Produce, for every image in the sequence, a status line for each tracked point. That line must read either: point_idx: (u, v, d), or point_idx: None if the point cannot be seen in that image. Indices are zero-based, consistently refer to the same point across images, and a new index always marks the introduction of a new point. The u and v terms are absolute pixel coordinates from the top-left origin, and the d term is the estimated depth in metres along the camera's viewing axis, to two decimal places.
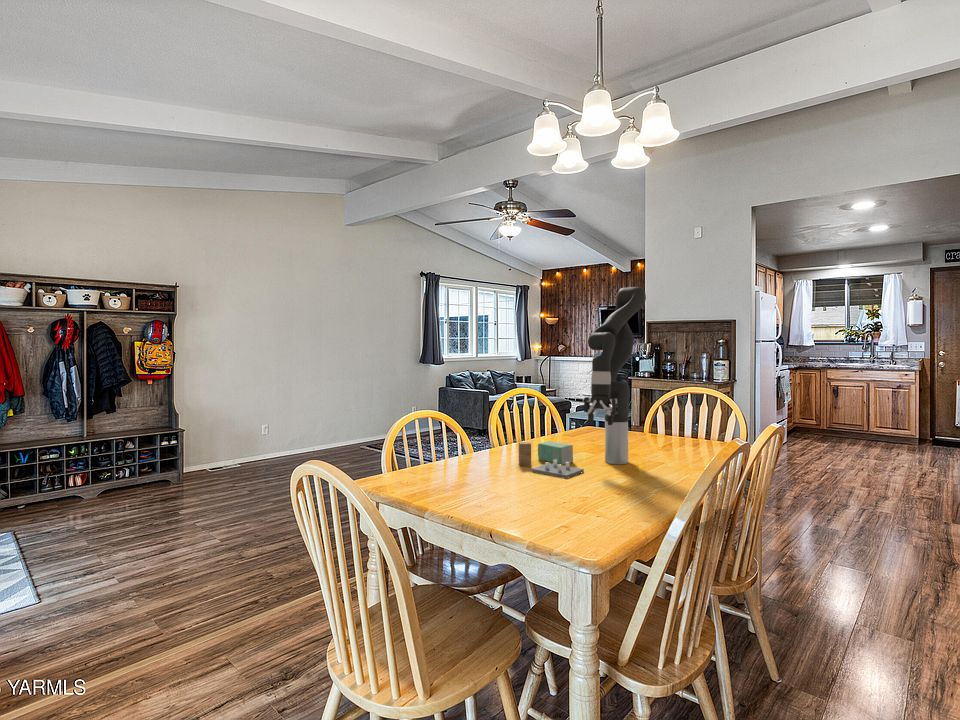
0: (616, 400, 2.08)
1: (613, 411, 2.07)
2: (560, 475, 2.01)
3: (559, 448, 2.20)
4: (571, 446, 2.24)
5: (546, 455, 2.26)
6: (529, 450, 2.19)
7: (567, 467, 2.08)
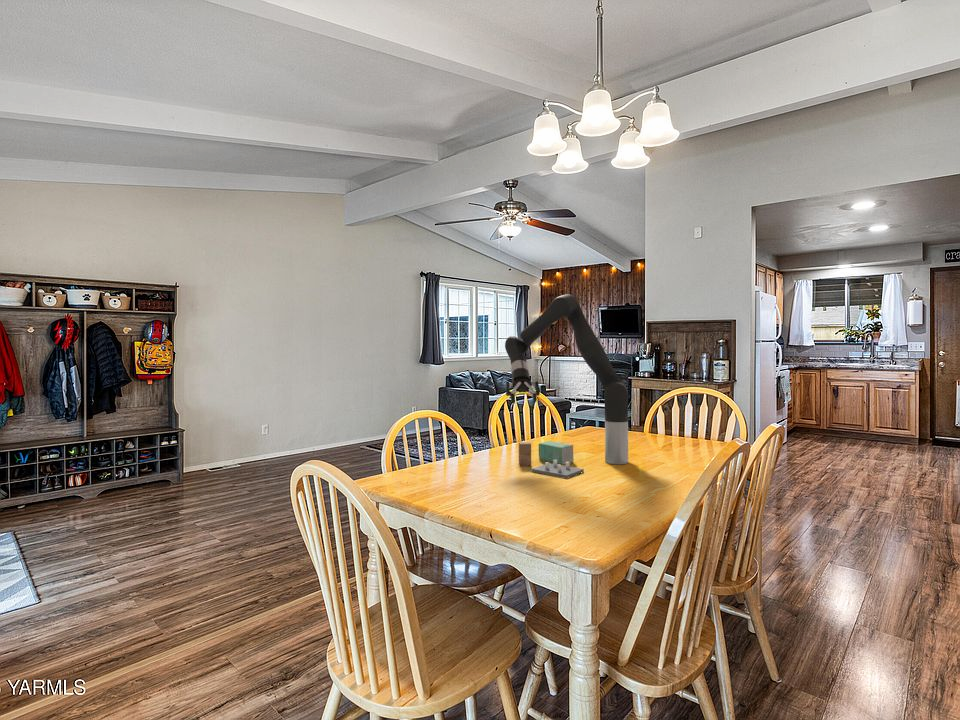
0: (506, 384, 2.31)
1: None
2: (560, 475, 2.01)
3: (559, 448, 2.21)
4: (571, 446, 2.24)
5: (547, 455, 2.26)
6: (529, 450, 2.19)
7: (567, 467, 2.08)
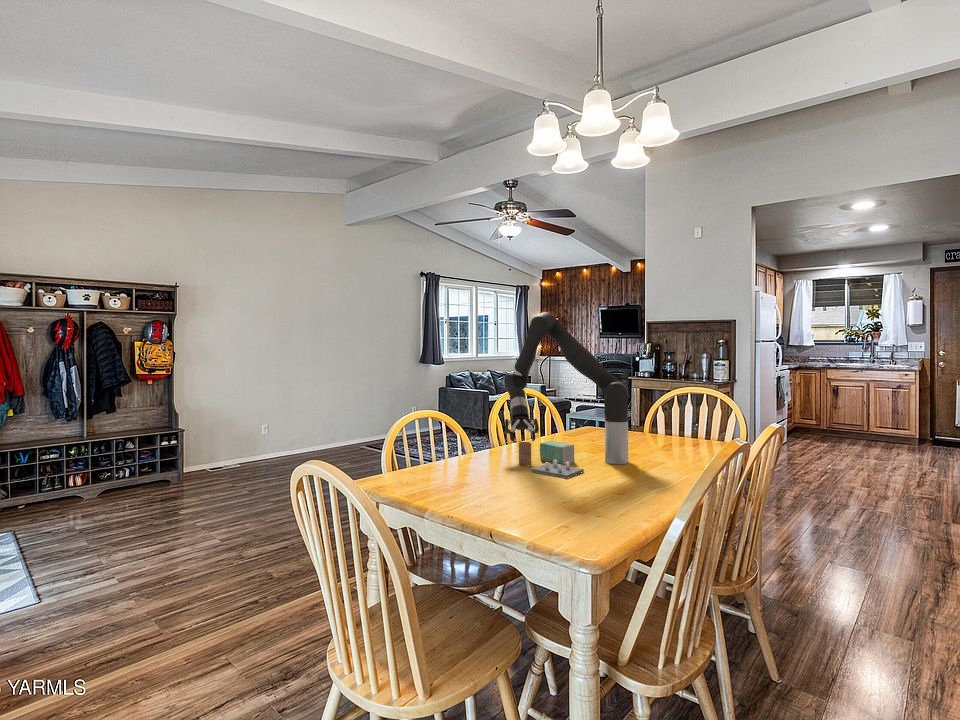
0: (505, 421, 2.31)
1: None
2: (560, 475, 2.01)
3: (560, 448, 2.21)
4: (572, 446, 2.24)
5: (548, 455, 2.27)
6: (529, 450, 2.19)
7: (567, 467, 2.08)
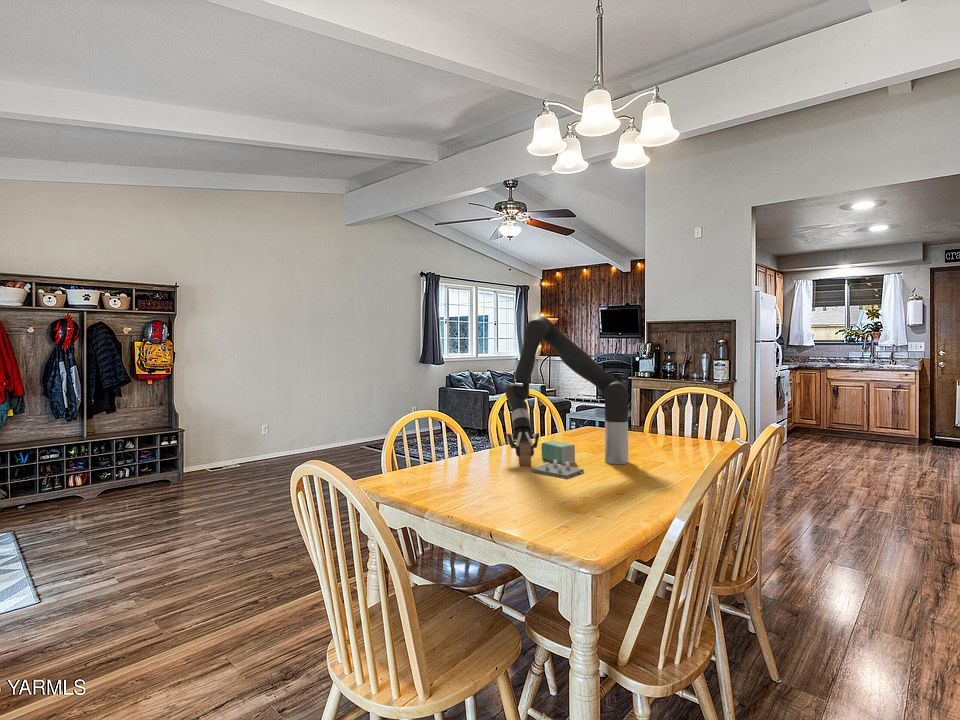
0: (507, 436, 2.25)
1: None
2: (560, 475, 2.01)
3: (559, 448, 2.21)
4: (573, 446, 2.24)
5: (548, 455, 2.28)
6: (529, 450, 2.19)
7: (567, 467, 2.08)
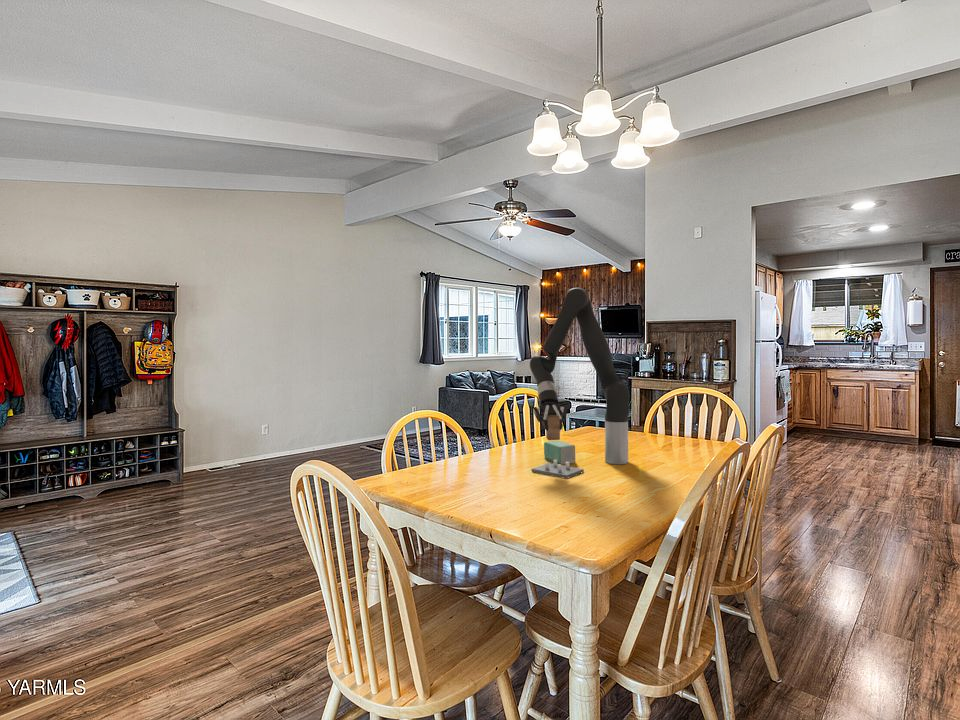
0: (533, 410, 2.14)
1: None
2: (560, 475, 2.01)
3: (559, 447, 2.22)
4: (573, 446, 2.23)
5: (550, 454, 2.28)
6: (557, 423, 2.08)
7: (567, 467, 2.08)
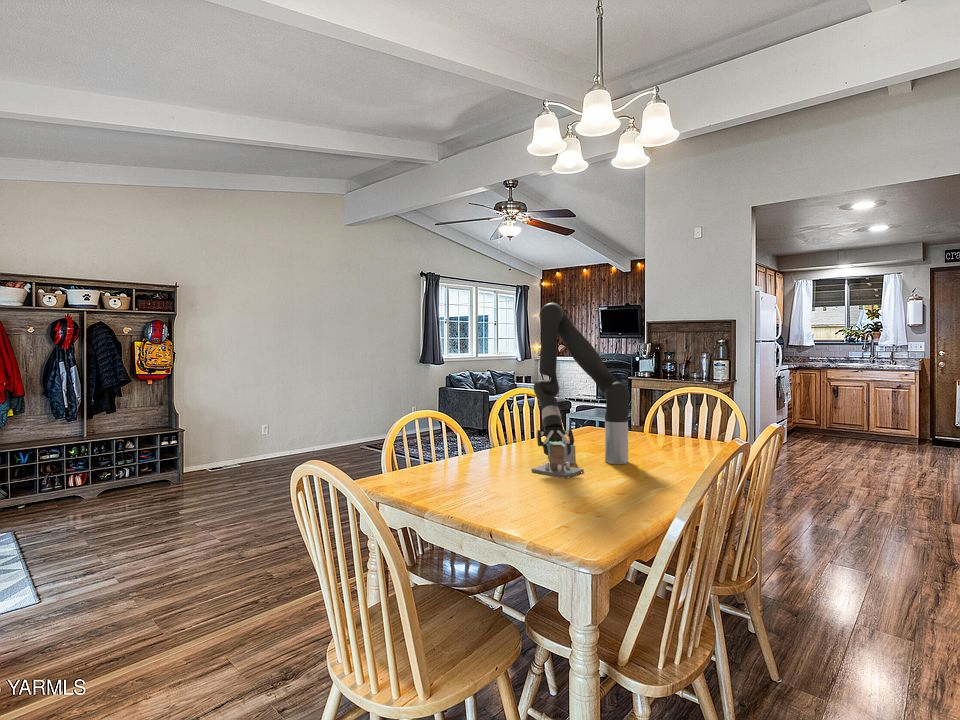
0: (537, 433, 2.13)
1: None
2: (560, 475, 2.01)
3: None
4: (573, 446, 2.23)
5: None
6: (561, 453, 2.06)
7: (567, 467, 2.08)
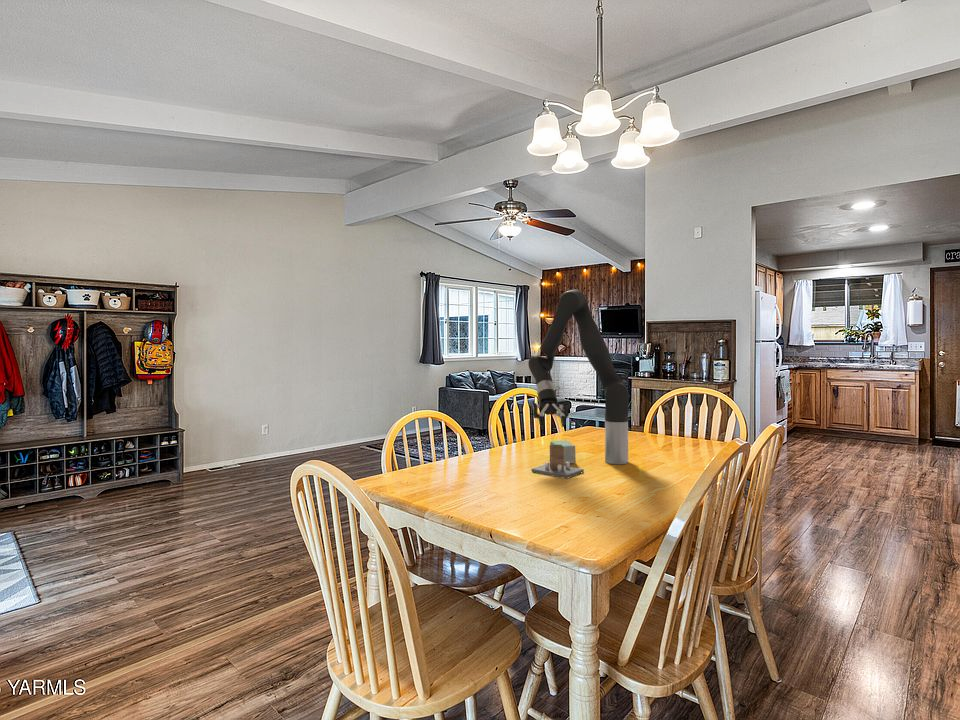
0: (533, 405, 2.21)
1: None
2: (560, 475, 2.01)
3: None
4: (573, 447, 2.22)
5: None
6: (561, 453, 2.06)
7: (567, 467, 2.08)
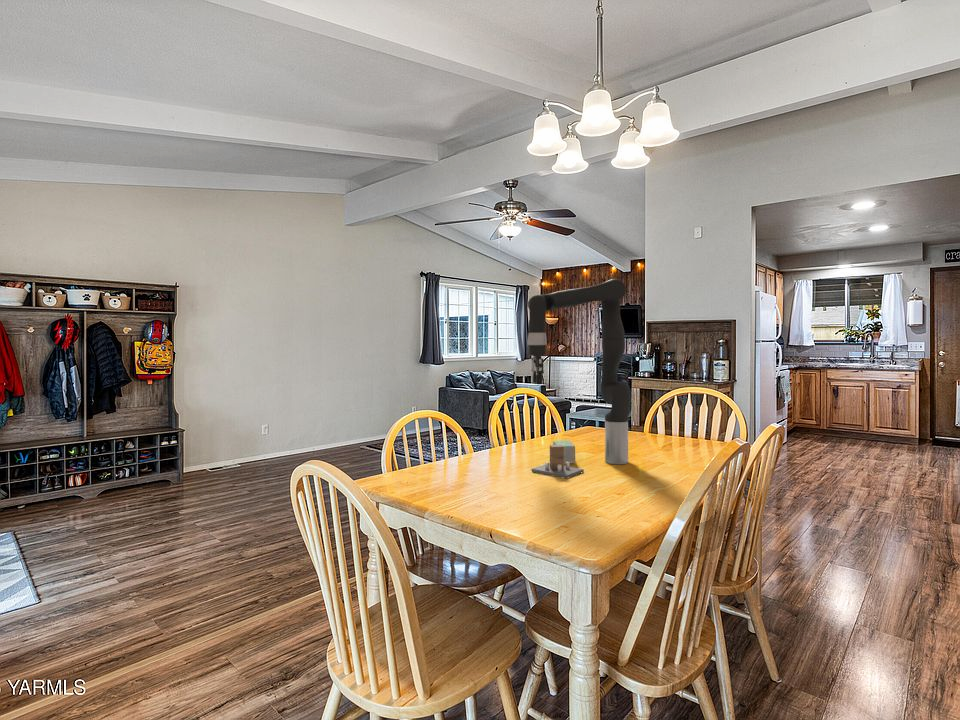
0: (540, 360, 2.15)
1: (537, 371, 2.15)
2: (560, 475, 2.01)
3: None
4: (573, 447, 2.22)
5: None
6: (561, 453, 2.06)
7: (567, 467, 2.08)
